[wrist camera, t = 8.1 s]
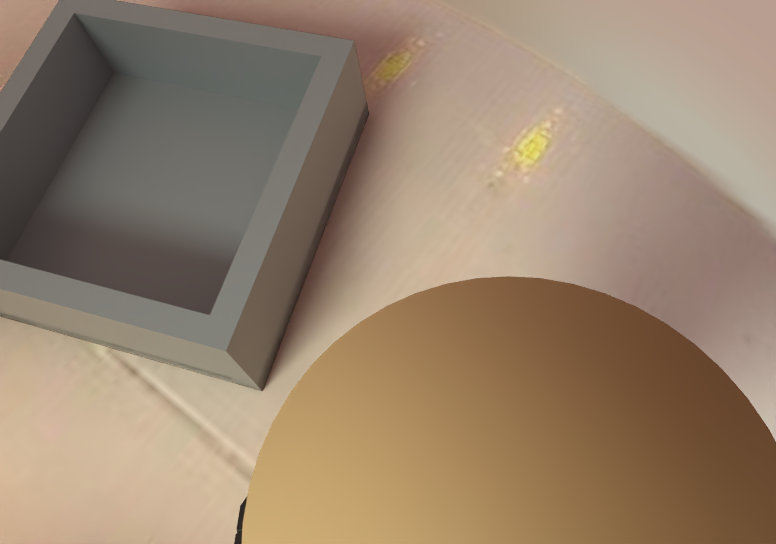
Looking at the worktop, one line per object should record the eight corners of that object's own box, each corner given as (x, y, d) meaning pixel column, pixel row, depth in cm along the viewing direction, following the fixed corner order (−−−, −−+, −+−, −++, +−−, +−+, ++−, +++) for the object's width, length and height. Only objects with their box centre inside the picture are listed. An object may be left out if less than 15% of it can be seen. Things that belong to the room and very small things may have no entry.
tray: (-28, 308, 30) (-106, 259, 26) (111, 64, 35) (64, -9, 31) (262, 391, 27) (225, 351, 23) (368, 113, 32) (354, 40, 28)
